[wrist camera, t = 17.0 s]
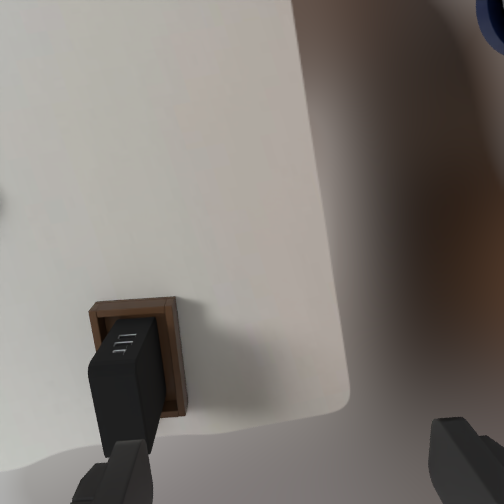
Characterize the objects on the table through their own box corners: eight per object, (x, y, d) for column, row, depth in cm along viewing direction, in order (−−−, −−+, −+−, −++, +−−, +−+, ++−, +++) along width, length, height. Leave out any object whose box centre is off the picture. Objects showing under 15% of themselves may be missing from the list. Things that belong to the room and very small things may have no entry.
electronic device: (156, 313, 44) (134, 364, 35) (167, 392, 47) (150, 459, 38) (117, 316, 44) (85, 368, 35) (131, 395, 47) (104, 462, 37)
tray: (175, 296, 44) (172, 305, 42) (188, 402, 48) (185, 416, 46) (96, 301, 44) (87, 311, 42) (115, 407, 48) (109, 422, 46)
